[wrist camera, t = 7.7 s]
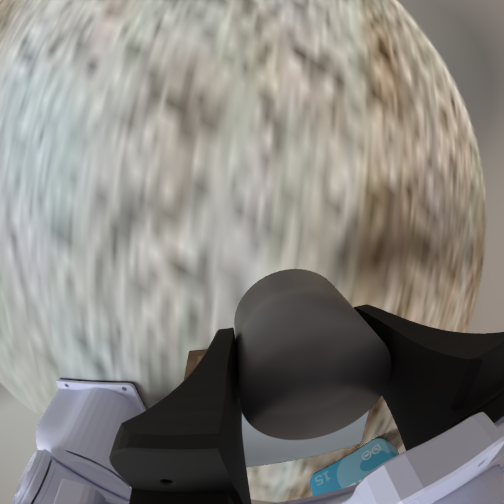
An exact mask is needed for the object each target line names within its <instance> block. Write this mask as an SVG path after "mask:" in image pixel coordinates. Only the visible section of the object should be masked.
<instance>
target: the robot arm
mask: <svg viewBox="0 0 504 504" xmlns="http://www.w3.org/2000/svg"><path fill="white" fill-rule="evenodd" d="M354 309H355V310H356V311H357V312H358V313H359V315H360V316H361V317H362V318H363V319H364V320H365V321H366V322H367V324H368V325H369V326H370V327H371V328H372V329H373V330H374V332H375V333H376V334H377V335H378V336H379V337H380V338H381V340H382V341H383V342H384V343H385V345H386V346H387V348H388V350H389V352H390V356H391V360H392V369H391V375H390V378H389V382H388V384H387V386H386V388H385V390H384V392H383V394H382V396H383V398H384V399H385V401H386V403H387V405H388V407H389V409H390V411H391V414H392V416H393V418H394V420H395V423H396V425H397V427H398V430H399V432H400V435H401V438H402V440H403V443H404V446H405V449H406V452H403V453H401V454H399V455H397V456H396V457H394V458H392V459H390V460H388V461H386V462H384V463H382V464H381V465H379V466H378V467H377V468H375V469H374V470H372V471H371V472H369V473H368V474H367V475H366V476H365V477H364V478H363V479H362V480H361V481H360V483H359V484H356V485H352V486H349V487H346V488H343V489H339V490H336V491H332V492H328V493H324V494H320V495H316V496H312V497H307V498H302V499H297V500H292V501H286V502H280V503H274V504H504V332H500V333H487V334H473V333H472V334H471V333H459V332H451V331H445V330H440V329H436V328H432V327H428V326H424V325H421V324H418V323H415V322H412V321H409V320H406V319H404V318H401V317H398V316H396V315H393V314H391V313H388V312H386V311H384V310H381V309H378V308H376V307H373V306H370V305H362V306H357V307H354ZM56 384H57V386H58V387H59V390H58V392H57V393H56V395H55V396H54V398H53V400H52V401H51V403H50V405H49V406H48V408H47V410H46V411H45V413H44V415H43V416H42V418H41V420H40V422H39V424H38V426H37V430H36V444H37V448H38V450H37V451H36V452H35V453H34V454H33V456H32V457H31V459H30V461H29V462H28V464H27V466H26V468H25V470H24V472H23V474H22V476H21V478H20V481H19V483H18V486H17V489H16V493H15V497H14V499H13V502H12V504H251V499H250V492H249V485H248V478H247V471H246V463H245V455H244V446H243V437H242V411H241V407H240V397H239V384H238V370H237V354H236V340H235V334H234V329H233V328H228V329H220V330H218V331H217V333H216V335H215V337H214V339H213V341H212V342H211V344H210V346H209V348H208V349H207V351H206V353H205V354H204V356H203V357H202V359H201V360H200V362H199V363H198V364H197V366H196V367H195V368H194V370H193V371H192V372H191V373H190V375H189V376H188V377H187V378H186V379H185V380H184V381H183V382H182V383H181V384H180V385H179V386H178V387H177V388H176V389H175V390H174V391H172V392H171V393H170V394H169V395H168V396H167V397H165V398H164V399H163V400H161V401H160V402H158V403H157V404H156V405H154V406H152V407H151V408H149V409H148V410H146V408H145V406H144V404H143V402H142V400H141V398H140V396H139V394H138V392H137V390H136V388H135V386H134V385H133V384H131V383H111V382H88V381H74V380H62V379H58V380H57V381H56ZM124 387H125V388H124ZM130 487H131V488H130Z"/></svg>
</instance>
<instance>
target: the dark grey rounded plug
mask: <svg viewBox="0 0 504 504" xmlns="http://www.w3.org/2000/svg"><path fill="white" fill-rule="evenodd" d="M234 324H235V340H236V354H237V370H238V384H239V397H240V407H241V411H242V414H243V416H244V417H245V419H246V421H247V422H248V423H249V424H250V425H251V426H252V427H253V428H255V429H256V430H257V431H259V432H261V433H263V434H265V435H267V436H270V437H274V438H278V439H284V440H306V439H313V438H318V437H321V436H325V435H328V434H331V433H334V432H336V431H338V430H340V429H343V428H345V427H346V426H348V425H350V424H352V423H353V422H355V421H356V420H358V419H359V418H360V417H362V416H363V415H364V414H365V413H366V412H367V411H369V410H370V409H371V408H372V407H373V405H374V404H375V403H376V402H377V401H378V399H379V398H380V397H381V395H382V394H383V392H384V390H385V388H386V386H387V384H388V382H389V378H390V375H391V369H392V360H391V356H390V352H389V350H388V348H387V346H386V345H385V343H384V342H383V341H382V340H381V338H380V337H379V336H378V335H377V334H376V333H375V332H374V330H373V329H372V328H371V327H370V326H369V325H368V324H367V322H366V321H365V320H364V319H363V318H362V317H361V316H360V315H359V313H358V312H357V311H356V310H355V309H354V308H353V307H352V306H351V304H350V303H349V302H348V301H347V300H346V299H345V298H344V297H343V296H342V294H341V293H340V292H339V291H338V290H337V289H336V288H335V287H334V286H333V285H332V284H331V283H330V282H329V281H328V280H327V279H326V278H324V277H323V276H321V275H319V274H317V273H315V272H311V271H308V270H302V269H290V270H283V271H279V272H276V273H273V274H270V275H268V276H266V277H264V278H263V279H261V280H259V281H258V282H257V283H255V284H254V285H253V286H252V287H251V288H250V289H249V290H248V291H247V292H246V293H245V295H244V296H243V297H242V299H241V301H240V303H239V305H238V307H237V310H236V314H235V323H234Z"/></svg>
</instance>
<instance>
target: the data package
mask: <svg viewBox="0 0 504 504" xmlns="http://www.w3.org/2000/svg"><path fill="white" fill-rule="evenodd" d="M397 455H399V453H398V451H397V449H396V448H395V447H394V446H393V445H391V444H390V443H389V442H387V441H386V440H384V439H382V438H377V439H374V440H372V441H370V442H369V443H367V444H365V445H364V446H362V447H361V448H359V449H357V450H356V451H354V452H353V453H351V454H349V455H347V456H346V457H344V458H342V459H340V460H339V461H337V462H335V463H333V464H331V465H330V466H328V467H326V468H324V469H322V470H320V471H318V472H316V473H315V474H314V475H313V476H312V478H311V480H310V486H311V490H312V494H313V496H316V495H320V494H324V493H328V492H332V491H336V490H339V489H343V488H346V487H349V486H352V485H356V484H359V483H360V481H361V480H362V479H363V478H364V477H365V476H366V475H367V474H368V473H369V472H371V471H372V470H374V469H375V468H377V467H378V466H379V465H381V464H382V463H384V462H386V461H388V460H390V459H392V458H394V457H396V456H397Z"/></svg>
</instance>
